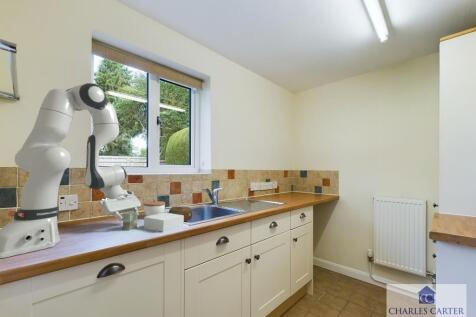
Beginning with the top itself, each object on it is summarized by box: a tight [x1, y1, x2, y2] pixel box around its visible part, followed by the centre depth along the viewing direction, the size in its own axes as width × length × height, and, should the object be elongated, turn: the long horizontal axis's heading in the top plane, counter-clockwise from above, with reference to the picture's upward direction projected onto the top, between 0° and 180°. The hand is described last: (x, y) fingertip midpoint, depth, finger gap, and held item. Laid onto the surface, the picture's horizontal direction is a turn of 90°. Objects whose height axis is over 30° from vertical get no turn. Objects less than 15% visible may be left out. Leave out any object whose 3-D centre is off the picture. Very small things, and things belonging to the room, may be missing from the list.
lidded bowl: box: [143, 198, 166, 217], centre depth 141 cm, size 13×13×11 cm
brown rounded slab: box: [168, 205, 194, 223], centre depth 134 cm, size 15×3×8 cm, turn 76°
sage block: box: [122, 211, 139, 231], centre depth 114 cm, size 5×5×8 cm
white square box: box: [143, 212, 185, 233], centre depth 118 cm, size 14×14×6 cm
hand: (129, 217), depth 114 cm, fingers open, 8 cm apart
